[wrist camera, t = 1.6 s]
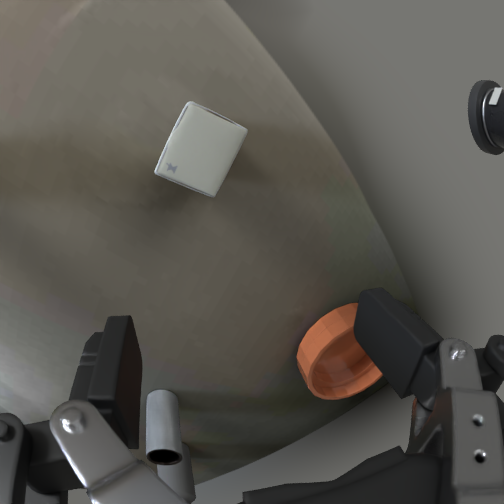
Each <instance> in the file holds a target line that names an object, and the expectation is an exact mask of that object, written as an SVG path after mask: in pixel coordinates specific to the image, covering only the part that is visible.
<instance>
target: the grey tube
mask: <svg viewBox="0 0 504 504" xmlns="http://www.w3.org/2000/svg"><path fill="white" fill-rule="evenodd" d="M146 457H147V459H148V460H149V461H151V462H152V463H155V464H158V465H166V466H167V465H175V464H178V463H179V462H181V461H182V459H183V453H182V443H181V432H180V420H179V407H178V398H177V396H176V395H175V394H174V393H172V392H170V391H167V390H155V391H152V392H151V393H149V394H148V396H147V412H146Z"/></svg>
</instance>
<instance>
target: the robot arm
mask: <svg viewBox="0 0 504 504" xmlns="http://www.w3.org/2000/svg"><path fill="white" fill-rule="evenodd" d="M481 122H482V127H483V131H484V134H485V136H486V138H487V140H488V141H489V143H490V144H491V145H492V146H494V147H498V148H504V90H502V88H495V89H493V88H491V89H488V90H487V91H486V92H485V94H484V96H483V98H482V103H481ZM353 331H354V336H355V339H356V340H357V342H358V343H359V345H360V346H361V347H362V348H363V350H364V351H365V352H366V354H367V355H368V356H369V357H370V359H371V360H372V361H373V363H374V364H375V365H376V366H377V368H378V369H379V370H380V372H381V373H382V374H383V376H384V377H385V378H386V380H387V381H388V382H389V383H390V385H391V386H392V387H393V389H394V390H395V391H396V393H397V394H398V395H399V397H400V398H401V399H402V398H405V397H407V396H410V395H412V394H414V395H415V396H416V397H415V399H414V402H413V406H412V418H411V428H410V438H409V444H408V448H407V450H406V452H405V453H404V452H403V450H402V449H401V447H400V446H397V447H395V448H393V449H390V450H388V451H386V452H383V453H381V454H378V455H376V456H374V457H371V458H368V459H366V460H365V461H363V462H362V463H360V464H359V465H358V466H356V467H354V468H353V469H352V470H350V471H348V472H347V473H345V474H344V475H342V476H340V477H339V478H337V479H335V480H333V481H328V482H314V483H293V484H283V485H278V486H273V487H269V488H263V489H258V490H253V491H247V492H243V502H240V503H238V504H504V403H503V402H502V401H501V399H500V398H499V397H498V396H497V395H496V392H497V390H498V389H499V387H500V385H501V384H502V382H503V381H504V336H502V335H493V336H491V337H490V338H489V341H488V343H487V345H486V347H485V348H480V349H473V348H472V347H471V346H470V345H469V344H468V343H467V342H465V341H463V340H460V339H456V338H448V339H445V340H444V339H443V338H442V337H441V336H440V335H439V334H438V333H437V332H436V331H435V330H434V329H432V328H431V327H430V326H429V325H428V324H427V323H426V322H425V321H424V320H421V318H420V317H419V316H418V315H417V314H416V313H415V314H414V311H413V310H412V309H410V308H409V307H408V306H407V305H406V304H404V303H402V302H400V301H398V300H396V299H394V298H393V297H392V296H391V295H390V294H389V293H388V292H387V291H385V290H384V289H383V288H375V289H369V290H363V291H362V292H361V294H360V297H359V302H358V307H357V311H356V316H355V321H354V326H353ZM79 364H80V366H78V369H77V372H76V376H75V379H74V383H73V386H72V390H71V394H70V397H69V401H67V402H64V403H62V404H61V405H59V406H58V407H57V408H56V409H55V410H54V411H53V413H52V415H51V417H50V420H47V421H42V422H37V423H32V424H27V425H23V423H22V422H21V420H20V419H19V418H18V417H17V416H15V415H14V414H11V413H1V414H0V504H68V490H73V489H78V488H83V487H85V488H86V489H87V492H86V493H87V495H88V497H89V498H90V500H91V501H92V503H93V504H188V503H187V502H186V501H185V500H183V499H182V498H181V497H180V496H179V495H178V494H177V493H176V492H175V491H174V490H172V489H171V488H170V487H169V486H168V485H167V484H166V483H165V482H164V481H163V480H162V479H161V478H160V477H159V476H158V475H157V474H156V473H155V472H154V471H153V470H152V469H151V468H150V467H149V466H148V465H147V464H146V463H145V462H144V461H142V460H138V459H137V458H136V457H135V456H134V454H133V453H132V452H131V451H130V450H129V449H139V417H140V397H141V382H142V357H141V352H140V348H139V344H138V340H137V336H136V332H135V328H134V324H133V320H132V317H131V316H130V315H128V316H110V317H108V319H107V322H106V325H105V329H104V332H95V333H94V334H93V335H92V336H91V337H90V339H89V340H88V341H87V342H86V344H85V347H84V350H83V353H82V356H81V359H80V363H79Z"/></svg>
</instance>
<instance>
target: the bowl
mask: <svg viewBox="0 0 504 504" xmlns="http://www.w3.org/2000/svg"><path fill="white" fill-rule="evenodd" d="M357 307H358V303H350V304H347V305H344V306H341V307H339V308H336V309H334V310H332V311H331V312H329V313H328V314H326V315H325V316H323V317H322V318H320V319H319V320H318V321H317V322H316V323H315V324H314V325H313V326H312V327H311V328H310V329H309V330H308V331H307V333H306V335H305V336H304V338H303V340H302V341H301V343H300V345H299V349H298V353H297V363H298V368H299V370H300V372H301V374H302V376H303V378H304V380H305V382H306V384H307V386H308V388H309V389H310V390H311V392H312V393H313V394H314V395H315V396H317V397H320V398H322V399H329V400H337V399H342V398H347V397H350V396H352V395H355V394H357V393H359V392H362V391H363V390H365V389H366V388H368V387H369V386H371V385H372V384H374V383H375V382H376V381H377V380H378V379H379V378H380V377H381V376H383V374H382V373H381V372H380V370H379V369H378V368H377V366H376V365H375V364H374V363H373V361H372V360H371V359H370V357H369V356H368V355H367V354H366V352H365V351H364V350H363V348H362V347H361V346H360V345H359V343H358V342H357V340H356V339H355V336H354V331H353V326H354V321H355V316H356V311H357Z"/></svg>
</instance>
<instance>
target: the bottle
mask: <svg viewBox="0 0 504 504" xmlns="http://www.w3.org/2000/svg"><path fill="white" fill-rule="evenodd" d="M181 443H182V442H181ZM182 453H183V459H182V461H181V462H179V463H178V464H175V465H167V466H166V465H158V464H157V469H158V476H159V477H160V478H161V479H162V480H163V481H164V482H165V483H166V484H167V485H168V486H169V487H170V488H171V489H172V490H174V491H175V492H176V493H177V494H178V495H179V496H180V497H181V498H182V499H183V500H185V501H186V502H187V503H188V504H191V503H192V502H193V501H194V500H195V499H196V495H195V488H194V480H193V473H192V466H191V458H190V451H189V447H188V446H187V445H186V444H184V443H182Z"/></svg>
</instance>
